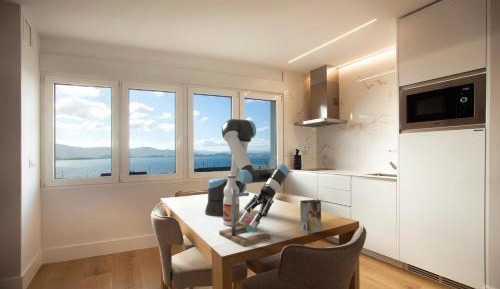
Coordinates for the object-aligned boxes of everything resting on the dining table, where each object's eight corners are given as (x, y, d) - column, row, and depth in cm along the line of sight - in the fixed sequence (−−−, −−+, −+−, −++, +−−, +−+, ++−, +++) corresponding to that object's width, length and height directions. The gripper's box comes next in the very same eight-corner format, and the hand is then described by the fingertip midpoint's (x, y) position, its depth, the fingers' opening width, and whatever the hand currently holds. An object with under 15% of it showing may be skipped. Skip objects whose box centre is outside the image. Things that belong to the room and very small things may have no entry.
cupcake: (242, 228, 140) (242, 205, 141) (258, 227, 141) (258, 204, 141) (243, 233, 132) (243, 208, 132) (261, 233, 133) (260, 208, 133)
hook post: (230, 234, 131) (230, 189, 131) (247, 231, 137) (247, 187, 137) (233, 236, 129) (233, 189, 130) (249, 232, 135) (250, 188, 136)
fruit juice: (239, 226, 153) (239, 176, 153) (222, 226, 153) (222, 176, 153) (239, 221, 162) (239, 174, 162) (224, 221, 162) (224, 174, 163)
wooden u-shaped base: (219, 234, 137) (219, 230, 137) (246, 228, 148) (246, 225, 148) (242, 246, 122) (242, 241, 122) (270, 238, 132) (270, 234, 132)
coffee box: (314, 228, 149) (314, 199, 149) (321, 231, 143) (321, 201, 143) (300, 230, 145) (300, 200, 145) (307, 233, 139) (307, 202, 139)
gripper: (287, 196, 138) (263, 234, 128) (261, 191, 155) (238, 224, 145) (280, 186, 135) (255, 224, 125) (253, 182, 152) (229, 215, 141)
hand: (246, 224), depth 135 cm, fingers closed on cupcake, 8 cm apart
